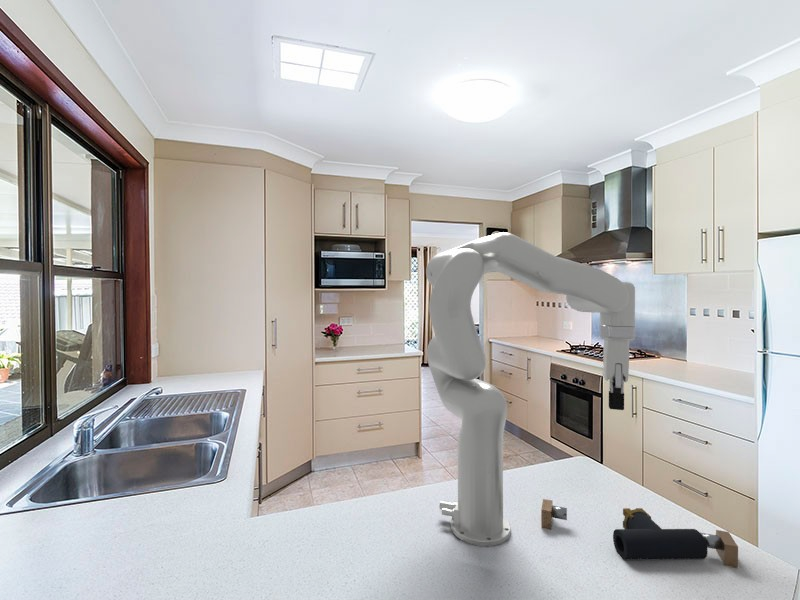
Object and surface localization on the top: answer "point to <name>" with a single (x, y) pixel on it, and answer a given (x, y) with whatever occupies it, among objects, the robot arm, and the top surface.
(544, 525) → the left shaft
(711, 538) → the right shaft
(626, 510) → the pipe connector
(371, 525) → the top surface
